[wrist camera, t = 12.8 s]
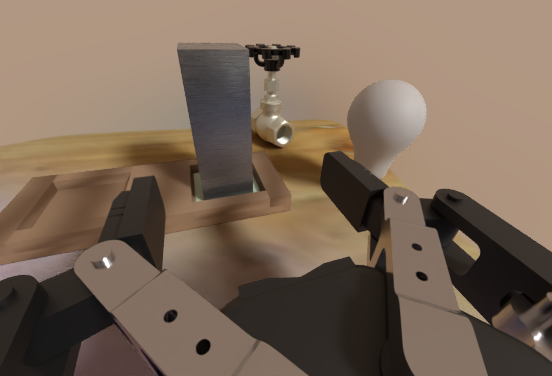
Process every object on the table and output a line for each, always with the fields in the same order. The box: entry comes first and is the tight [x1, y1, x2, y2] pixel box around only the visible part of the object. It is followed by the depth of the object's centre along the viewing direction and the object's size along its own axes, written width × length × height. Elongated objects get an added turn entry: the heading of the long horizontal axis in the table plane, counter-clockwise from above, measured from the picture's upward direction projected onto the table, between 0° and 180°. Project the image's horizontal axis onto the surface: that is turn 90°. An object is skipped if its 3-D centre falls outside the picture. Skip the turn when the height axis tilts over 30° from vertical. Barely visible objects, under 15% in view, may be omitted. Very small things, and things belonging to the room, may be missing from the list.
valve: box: [245, 44, 300, 148], centre depth 32 cm, size 7×7×12 cm
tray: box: [0, 151, 291, 265], centre depth 23 cm, size 22×9×2 cm, turn 108°
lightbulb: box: [347, 80, 426, 180], centre depth 22 cm, size 6×6×11 cm
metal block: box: [177, 43, 253, 200], centre depth 21 cm, size 4×4×12 cm
